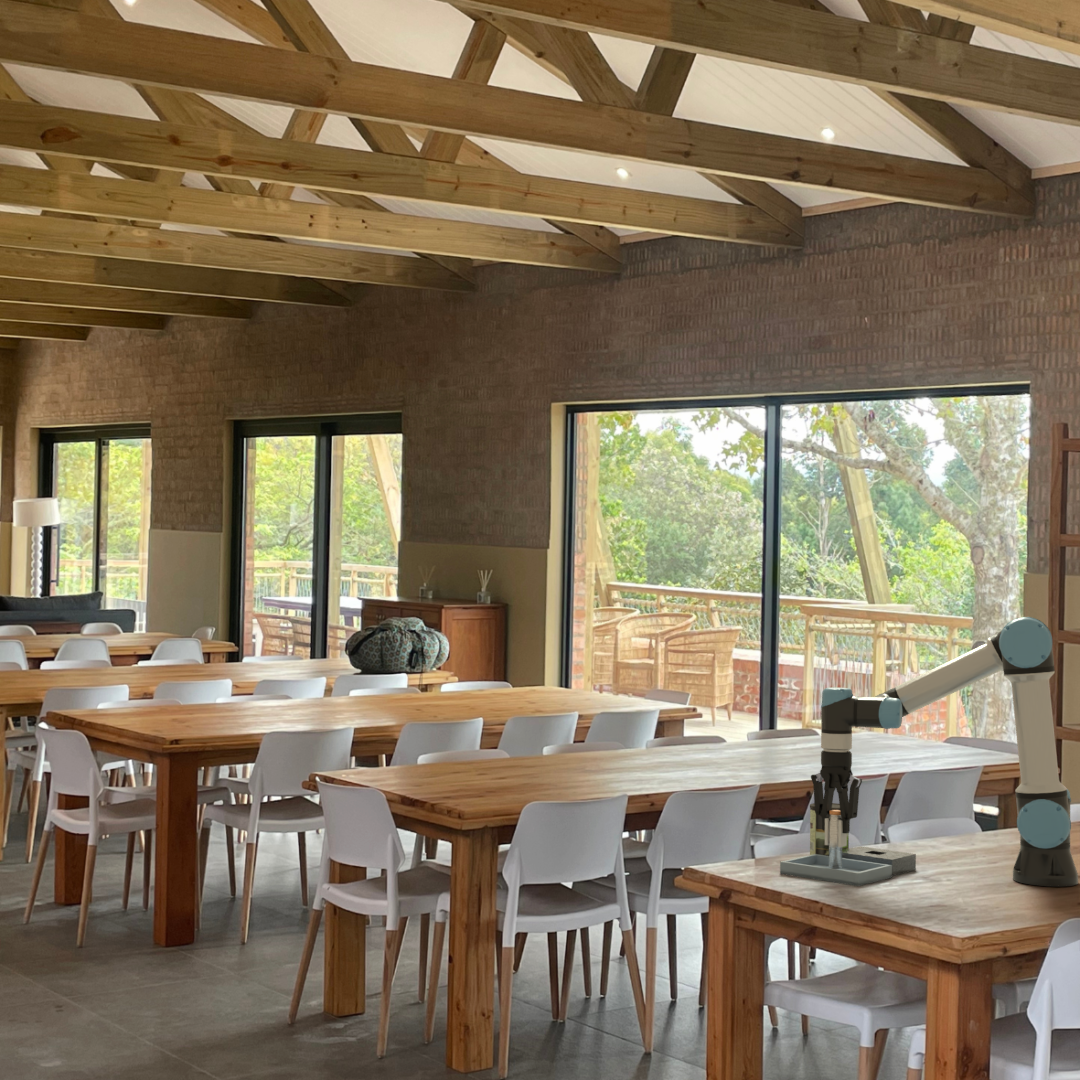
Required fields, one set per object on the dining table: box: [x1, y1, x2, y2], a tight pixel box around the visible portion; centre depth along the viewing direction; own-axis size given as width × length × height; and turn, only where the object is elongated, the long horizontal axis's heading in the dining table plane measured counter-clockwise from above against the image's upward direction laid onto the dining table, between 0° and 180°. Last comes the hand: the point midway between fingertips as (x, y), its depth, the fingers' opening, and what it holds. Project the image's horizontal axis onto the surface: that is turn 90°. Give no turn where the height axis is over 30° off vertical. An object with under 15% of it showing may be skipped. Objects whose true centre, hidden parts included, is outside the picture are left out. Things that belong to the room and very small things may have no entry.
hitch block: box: [842, 845, 917, 877], centre depth 378 cm, size 16×12×4 cm
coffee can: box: [809, 802, 850, 856], centre depth 392 cm, size 10×10×14 cm
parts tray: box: [779, 854, 893, 887], centre depth 368 cm, size 22×16×3 cm
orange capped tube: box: [829, 810, 842, 869], centre depth 368 cm, size 3×3×14 cm
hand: (835, 845), depth 368 cm, fingers closed on orange capped tube, 3 cm apart
